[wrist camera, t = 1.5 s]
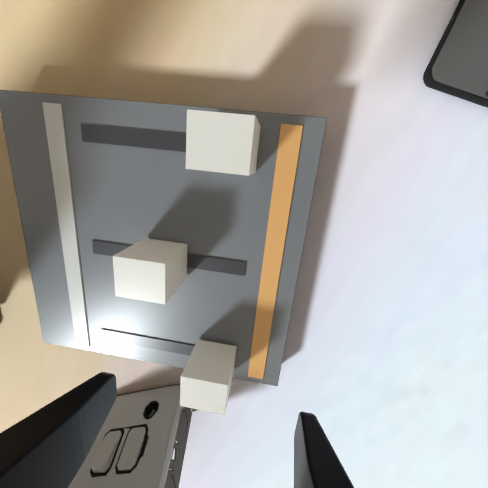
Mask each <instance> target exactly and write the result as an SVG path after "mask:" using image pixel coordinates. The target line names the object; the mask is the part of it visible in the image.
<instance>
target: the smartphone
mask: <svg viewBox="0 0 488 488" xmlns="http://www.w3.org/2000/svg"><path fill="white" fill-rule="evenodd" d="M423 80H424V83H425V85H426V86H428V87H430V88H433V89H436V90H439V91H441V92H444V93H447V94H450V95H453V96H456V97H459V98H461V99H464V100H467V101H470V102H473V103H476V104H479V105H482V106H485V107H488V0H460V2H459V4H458V6H457V8H456V10H455V12H454V14H453V16H452V18H451V20H450V22H449V24H448V26H447V28H446V30H445V32H444V34H443V36H442V38H441V40H440V42H439V44H438V46H437V48H436V50H435V52H434V54H433V56H432V58H431V60H430V62H429V64H428V66H427V68H426V70H425V72H424V76H423Z"/></svg>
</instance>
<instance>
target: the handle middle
mask: <svg viewBox="0 0 488 488" xmlns="http://www.w3.org/2000/svg"><path fill="white" fill-rule="evenodd" d="M187 248H188V244H184V243H177V242H170V241H162V240H155V239H148V238H144V239H142V240H140V241H139V242H137V243H135V244H133V245H131V246H130V247H128V248H126V249H124V250H123V251H121V252H119V253H117V254H115V255H114V256H113V269H114V283H115V296H117V297H123V298H129V299H135V300H141V301H147V302H153V303H159V304H166V303H167V302H168V300H169V299H170V298H171V297H172V295H173V294H174V293H175V292H176V290H177V289H178V288H179V287H180V285H181V284H182V283H183V282H184V280H185V279H186V278H187Z"/></svg>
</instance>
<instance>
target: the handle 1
mask: <svg viewBox="0 0 488 488" xmlns="http://www.w3.org/2000/svg"><path fill="white" fill-rule="evenodd" d="M260 129H261V126H260V124H259V122H258V120H257V118H256V116H255V115H246V114H234V113H223V112H211V111H200V110H188V109H187V129H186V169H192V170H201V171H210V172H219V173H228V174H237V175H246V176H250V175H252V174H254V173H256V165H257V156H258V147H259V138H260Z"/></svg>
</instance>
